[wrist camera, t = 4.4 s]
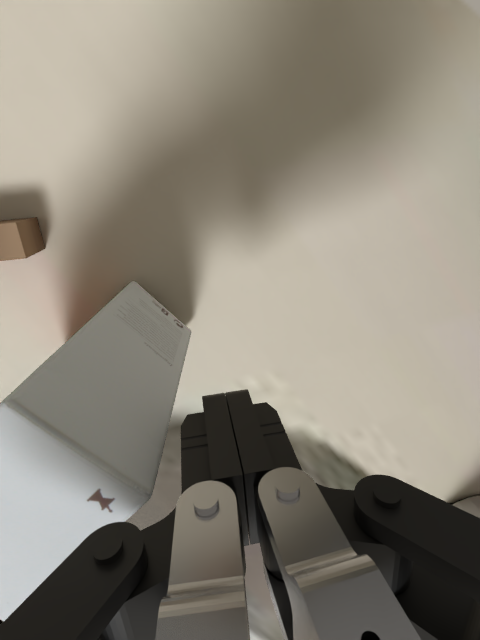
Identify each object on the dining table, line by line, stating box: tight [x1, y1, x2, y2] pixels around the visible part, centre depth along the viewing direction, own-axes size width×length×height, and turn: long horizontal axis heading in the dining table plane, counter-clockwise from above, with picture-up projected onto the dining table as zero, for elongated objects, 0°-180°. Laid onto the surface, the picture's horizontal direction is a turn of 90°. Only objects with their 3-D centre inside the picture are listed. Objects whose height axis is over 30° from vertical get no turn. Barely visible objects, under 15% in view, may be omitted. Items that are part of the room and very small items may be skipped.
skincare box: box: [0, 281, 191, 621], centre depth 14 cm, size 6×4×12 cm
